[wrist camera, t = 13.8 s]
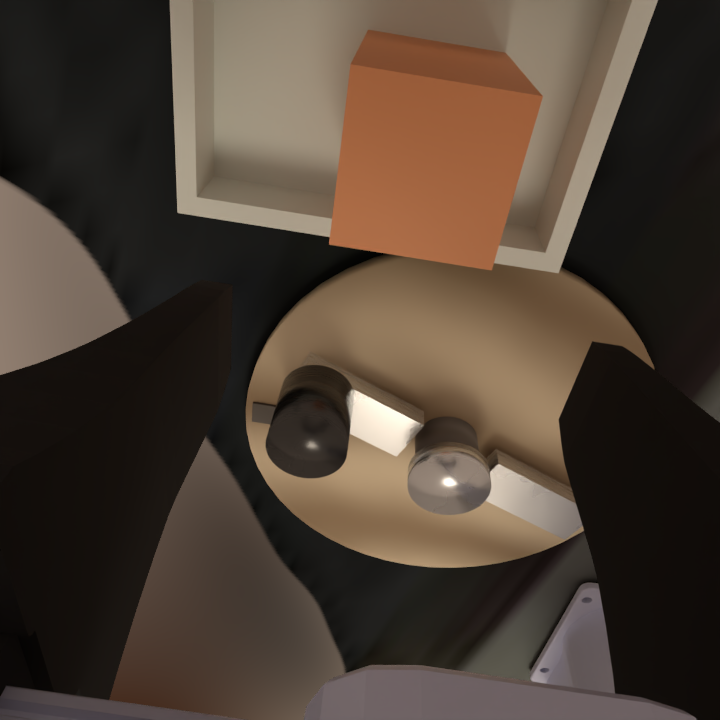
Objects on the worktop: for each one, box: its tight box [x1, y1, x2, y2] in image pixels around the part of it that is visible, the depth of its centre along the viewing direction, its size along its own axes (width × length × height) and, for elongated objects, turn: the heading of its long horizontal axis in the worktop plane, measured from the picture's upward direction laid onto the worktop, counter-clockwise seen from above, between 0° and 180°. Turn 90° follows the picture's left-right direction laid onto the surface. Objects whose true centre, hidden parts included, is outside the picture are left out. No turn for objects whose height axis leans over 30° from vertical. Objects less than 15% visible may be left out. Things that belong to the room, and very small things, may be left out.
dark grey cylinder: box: [266, 352, 583, 540], centre depth 24 cm, size 14×3×4 cm, turn 59°
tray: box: [170, 0, 658, 273], centre depth 18 cm, size 8×12×2 cm, turn 82°
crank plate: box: [246, 254, 655, 568], centre depth 25 cm, size 17×17×2 cm
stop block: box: [329, 30, 543, 270], centre depth 16 cm, size 4×4×6 cm
